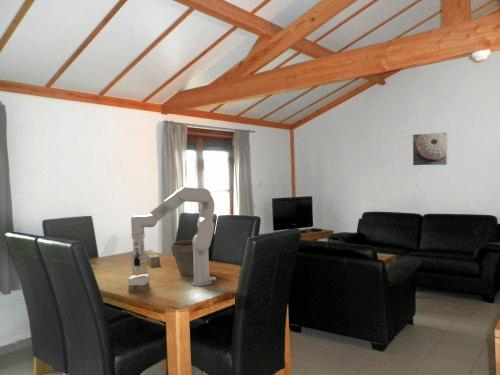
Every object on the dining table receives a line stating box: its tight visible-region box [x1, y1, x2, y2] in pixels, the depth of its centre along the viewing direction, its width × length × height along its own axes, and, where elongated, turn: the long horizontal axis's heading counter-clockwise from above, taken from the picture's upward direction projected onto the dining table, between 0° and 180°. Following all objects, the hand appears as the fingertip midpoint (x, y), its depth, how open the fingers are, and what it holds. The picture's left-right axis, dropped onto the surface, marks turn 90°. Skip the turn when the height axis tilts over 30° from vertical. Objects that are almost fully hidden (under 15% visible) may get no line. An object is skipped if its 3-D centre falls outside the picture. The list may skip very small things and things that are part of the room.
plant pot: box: [170, 239, 194, 277], centre depth 278 cm, size 25×25×22 cm
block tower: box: [145, 249, 161, 268], centre depth 317 cm, size 8×8×29 cm
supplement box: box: [130, 252, 148, 276], centre depth 241 cm, size 8×5×13 cm, turn 140°
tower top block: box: [127, 273, 151, 285], centre depth 241 cm, size 10×10×4 cm
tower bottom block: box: [127, 281, 150, 292], centre depth 242 cm, size 10×10×4 cm
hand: (139, 264), depth 241 cm, fingers closed on supplement box, 9 cm apart
